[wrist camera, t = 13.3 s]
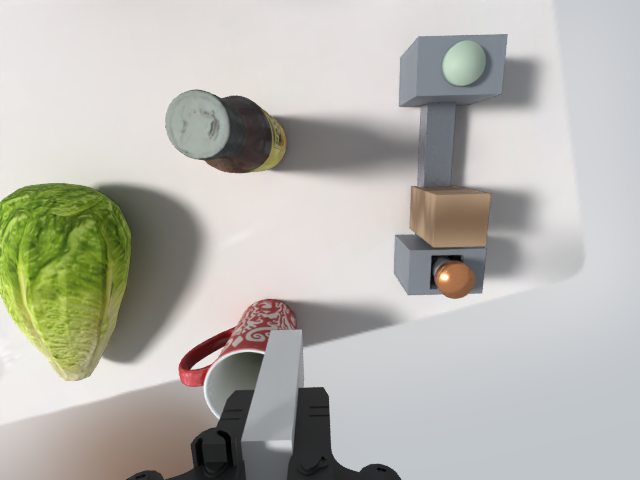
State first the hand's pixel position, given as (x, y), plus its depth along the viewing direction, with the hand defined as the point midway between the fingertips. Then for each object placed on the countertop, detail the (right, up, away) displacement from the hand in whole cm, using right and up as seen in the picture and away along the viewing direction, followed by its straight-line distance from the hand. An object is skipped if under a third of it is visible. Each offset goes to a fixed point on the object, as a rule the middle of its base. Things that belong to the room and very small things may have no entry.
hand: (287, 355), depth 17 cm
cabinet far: (+15, +4, +26) cm, 31 cm away
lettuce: (-27, +1, +27) cm, 38 cm away
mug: (-7, -5, +29) cm, 30 cm away
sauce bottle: (-5, +17, +23) cm, 29 cm away
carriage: (+15, +9, +24) cm, 30 cm away
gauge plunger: (+15, +3, +24) cm, 28 cm away
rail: (+15, +14, +24) cm, 31 cm away
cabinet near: (+14, +23, +21) cm, 35 cm away
